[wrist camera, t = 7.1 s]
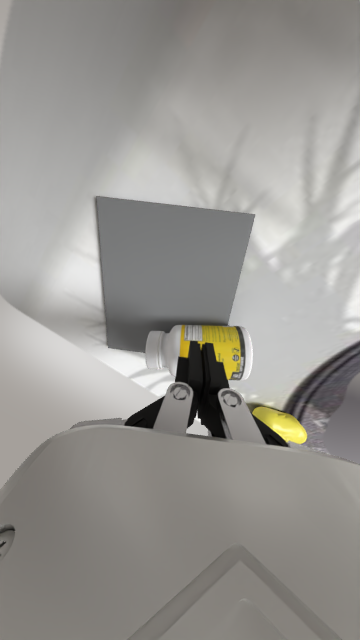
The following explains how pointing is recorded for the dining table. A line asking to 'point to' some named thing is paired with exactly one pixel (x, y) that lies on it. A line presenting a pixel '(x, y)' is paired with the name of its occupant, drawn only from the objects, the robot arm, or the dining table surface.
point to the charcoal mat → (167, 267)
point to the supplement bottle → (227, 342)
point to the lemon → (282, 424)
